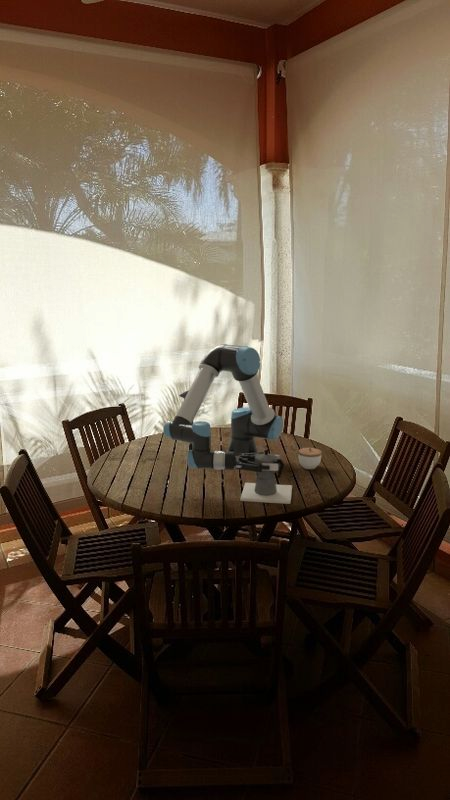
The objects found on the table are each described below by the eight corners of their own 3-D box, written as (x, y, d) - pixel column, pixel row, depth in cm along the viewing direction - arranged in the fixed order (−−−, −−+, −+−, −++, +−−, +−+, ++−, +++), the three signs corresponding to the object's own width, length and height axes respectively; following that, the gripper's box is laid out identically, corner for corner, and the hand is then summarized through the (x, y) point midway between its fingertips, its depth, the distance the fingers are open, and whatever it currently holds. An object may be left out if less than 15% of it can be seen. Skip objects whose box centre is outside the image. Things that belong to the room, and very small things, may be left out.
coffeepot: (245, 490, 257) (246, 449, 253) (259, 484, 264) (260, 443, 260) (276, 500, 247) (277, 457, 243) (289, 493, 254) (290, 451, 250)
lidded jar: (320, 471, 284) (321, 452, 282) (296, 469, 286) (297, 450, 284) (321, 464, 294) (322, 445, 292) (298, 462, 296) (299, 443, 294)
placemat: (245, 484, 267) (245, 482, 266) (292, 487, 264) (292, 485, 264) (240, 500, 249) (240, 498, 249) (290, 503, 247) (290, 501, 246)
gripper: (228, 460, 268) (279, 462, 266) (221, 478, 246) (277, 481, 243) (228, 443, 266) (280, 445, 264) (221, 460, 244) (277, 463, 242)
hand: (278, 462), depth 254 cm, fingers open, 10 cm apart
